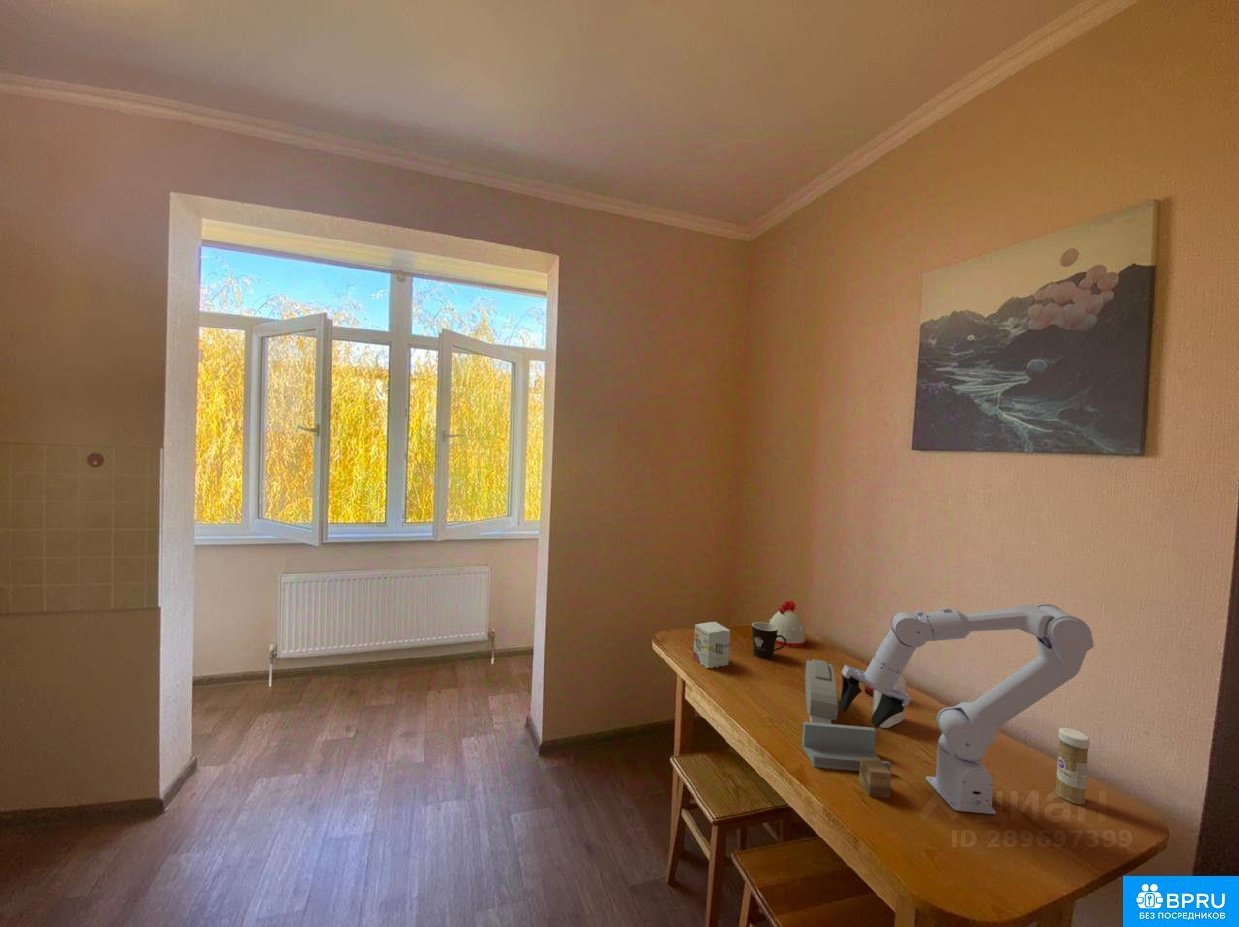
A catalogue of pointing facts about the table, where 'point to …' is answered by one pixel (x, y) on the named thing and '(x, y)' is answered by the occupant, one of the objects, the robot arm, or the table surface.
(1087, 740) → the sprinkles bottle
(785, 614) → the white and red dome
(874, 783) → the cabinet block
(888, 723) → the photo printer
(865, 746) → the wall shelf
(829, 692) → the alarm clock
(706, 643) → the ink box
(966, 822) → the table surface
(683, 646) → the table surface
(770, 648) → the coffee mug
